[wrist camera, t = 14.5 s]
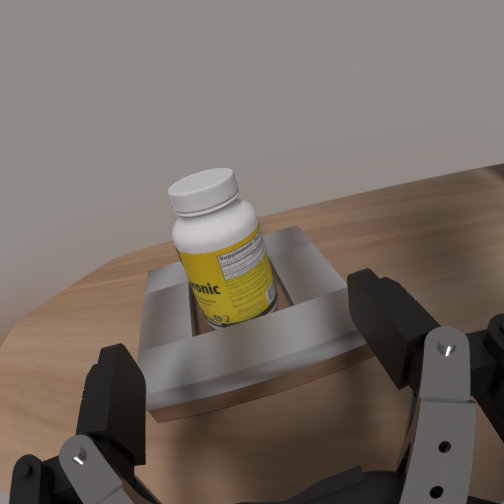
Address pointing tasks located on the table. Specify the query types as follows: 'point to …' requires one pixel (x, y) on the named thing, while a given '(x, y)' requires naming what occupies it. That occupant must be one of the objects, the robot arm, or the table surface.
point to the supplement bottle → (222, 248)
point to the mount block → (246, 335)
